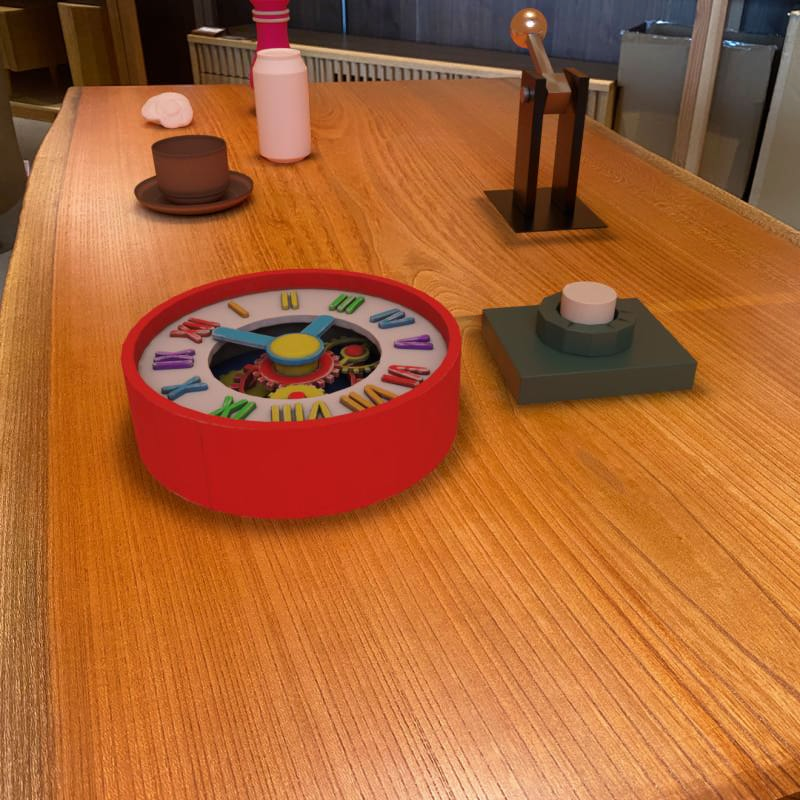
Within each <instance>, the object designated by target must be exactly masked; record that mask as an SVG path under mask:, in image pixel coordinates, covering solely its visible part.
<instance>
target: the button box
mask: <svg viewBox="0 0 800 800" xmlns="http://www.w3.org/2000/svg"><path fill="white" fill-rule="evenodd" d="M562 291H563V290H561V291H558V292H555V293H553V294H550V295H548V296H545V297H543V298H542V300H541V302H540V303H539V304H530V305H518V306H504V307H503V306H502V307H490V308H489V307H487V308H483V309H482V311H481V312H482V313H481V326H480V327H481V328H480V335H481V337H482V339H483V341H484V343H485V344H486V346H487V348H488V350H489V352H490V354H491V356H492V358H493V360H494V361H495V364H496V366H497V367H498V369H499V371H500V373H501V375H502V378H503V379H504V380H505V383H506V385H507V386H508V388H509V390H510V392H511V393H512V396H513V398H514V400H515V401H516V403H517V405H519V406H523V405H524V406H525V405H532V404H534V405H535V404H545V403H553V402H554V403H556V402H557V403H558V402H565V401H566V402H567V401H578V400H579V401H580V400H588V399H590V400H591V399H600V398H610V397H611V398H612V397H622V396H632V395H633V396H635V395H644V394H656V393H666V392H678V391H689V390H693V386H694V382H695V378H696V377H695V376H696V373H697V368H698V364H699V363H698V360H697V359H695V357H694V356H693V355H692V354H691V353H690V352H689V351H688V350H687V348H686V347H684V346H683V344H681V343H680V342H679V340H678V339H677V338H676V337H675V336H674V335H673V334H672V333H671V332H670V331H669V330H668V328H667V327H665V325H664V324H663V323H662V322H661V321H660V320H659V319H658V318H657V317H656V316H655V315H654V314H653V313H652V312H651V310H649V308H647V306H645V304H644V303H643V302H642V301H641V300H640V299H639V298H638V297H626V298H619V297H617V298H616V305H615V312H614V318H613V320H612V321H611V322H609V323H606V324H593V325H587V324H581V323H575V322H572V321H570V320H568V319H566V318H564V317H561V315H560V308H561V299H562Z"/></svg>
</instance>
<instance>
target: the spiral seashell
mask: <svg viewBox="0 0 800 800" xmlns="http://www.w3.org/2000/svg"><path fill="white" fill-rule="evenodd" d="M139 109H140V110H141V113H140V114H141V116H142V118H143V119H145V120H146V121H148V122H150V123H153V124H155V125H158V126H159V125H160V126H162V127H164V128H166V129H173V130H175V129H179V128H182V127H183V128H185V127H187V126H189V125H190V124H191V123H192V121H193V117H194V111H193V108H192V105H191V102H190V100H189V99H188V97H187V96H185V95H184V94H182V93H179V92H174V91H173V92H172V91H168V92H167V91H166V92H162V93H160V94H157V95H154V96H151V97H150V98H149V99H148V100H146V102H145V103H144V104H143V106H142V107H139Z"/></svg>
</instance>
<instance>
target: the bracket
mask: <svg viewBox="0 0 800 800" xmlns="http://www.w3.org/2000/svg"><path fill="white" fill-rule="evenodd" d="M562 73H564V74H565V77H566V79H567V82H568V84H569V86H570V89H571V91H572V93H571V96H570V100H569V103H568V107H567V110H566V114H558V119H557V130H556V140H555V149H554V159H553V170H552V179H551V186H546V187H545V186H544V187H538V180H539V170H540V159H541V157H540V156H541V155H540V154H541V145H542V137H543V136H542V135H543V125H544V115H543V114H544V103H545V92H546V80H547V79H546V78H545V77H543V76H542V75H540V74H539V73H537V71H536V70H535V69H533V68H523V69H521V79H520V91H519V105H518V119H517V130H516V131H517V133H516V143H515V144H516V146H515V159H514V173H513V187H512V188H511V189H510V188H509V189H491V190H489V189H488V190H483V193H484V196H486V197H487V199H488V200H489V201H490V202H491V204H492V205H493V207H494V208H495V209H496V210H497V212H499V214H500V216H501V217H502V218H503V220H505V223H507V224H508V226H509V227H510V228H511V229H512V231H513V232H514V234H525V233H542V232H560V231H576V230H577V231H578V230H591V229H594V230H595V229H605V228H606V229H607V228H608V229H609V225H608V224H606V223H605V222H604V221H603V220H602V219H601V218H600V217H599V216H598V215H597V214H596V213H595V212H594V211H593V210H592V209H590V207H589V206H587V204H585V202H583V201H582V200H581V199H580V198H579V197H578V196H577V193H578V192H577V191H578V184H579V175H580V165H581V158H582V149H583V141H584V140H583V139H584V132H585V123H586V116H587V115H586V114H587V107H588V105H587V104H588V99H589V98H588V96H589V89H590V82H591V81H590V80H591V77H590V76H589V75H587V74H585V73H584V72H582V71H581V70H578V69H577V68H575V67H563V70H562Z"/></svg>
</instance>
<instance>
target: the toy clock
mask: <svg viewBox="0 0 800 800" xmlns="http://www.w3.org/2000/svg"><path fill="white" fill-rule="evenodd" d="M462 342H463V339H462V333H461V329H460V325H459V323H458V322H457V320H456V319H455V317H454V315H453V314H452V313H451V311H450V310H449V309H447V307H445V305H443V304H442V303H441V302H440V301H439V300H437V299H436V298H434V297H433V296H431V295H429V294H428V293H426V292H424V291H423V290H421V289H418V288H416V287H414V286H411V285H410V284H407V283H404V282H401V281H397V280H396V279H395V280H394V279H392V278H389V277H385V276H381V275H375V274H372V273H366V272H362V271H361V272H359V271H353V270H345V269H335V268H333V269H332V268H287V269H286V268H284V269H271V270H262V271H256V272H249V273H243V274H239V275H234V276H229V277H226V278H222V279H218V280H215V281H211V282H208V283H204V284H202V285H198V286H195V287H193V288H191V289H188V290H186V291H183V292H181V293H178V294H177V295H174V296H172V297H170V298H168V299H167V300H165V301H164V302H162V303H160V304H158V305H156V306H155V307H154V308H152V309H151V310H149V311H148V312H147V313H146V314H144V315H143V316H142V317H141V318H140V319H139V320H138V321H137V322H136V323H135V324H134V325H133V326H132V328H131V329H130V330H129V331H128V334H127V335H126V337H125V340H124V341H123V343H122V346H121V353H120V364H121V369H122V374H123V379H124V384H125V389H126V394H127V399H128V404H129V410H130V414H131V419H132V426H133V430H134V434H135V441H136V444H137V449H138V453H139V457H140V460H141V461H142V464H143V465H144V466H145V468H146V470H147V471H148V472H149V474H150V475H151V476H152V477H153V478H154V479H155V480H156V481H157V482H158V483H160V485H162V487H164V488H165V489H166V490H168V491H170V492H172V493H173V494H175V495H177V496H178V497H180V498H182V499H183V500H185V501H187V502H190V503H192V504H195V505H196V506H200V507H203V508H206V509H207V510H210V511H215V512H220V513H224V514H229V515H234V516H238V517H243V518H244V517H245V518H255V519H267V520H291V519H293V520H294V519H311V518H317V517H325V516H331V515H339V514H343V513H347V512H350V511H354V510H358V509H361V508H366V507H370V506H372V505H374V504H378V503H379V502H382V501H384V500H386V499H389V498H392V497H394V496H397V495H398V494H400V493H402V492H404V491H406V490H407V489H408V488H410V487H412V486H414V485H416V484H417V483H419V482H421V481H422V480H423V479H424V478H425V477H427V475H429V474H431V473H432V472H433V471H435V469H436V468H438V467H439V465H440V463H441V462H442V461H444V459H445V457H446V456H447V455H448V454H449V452H450V451H451V448H452V446H453V444H454V442H455V440H456V437H457V435H458V428H459V427H458V425H459V415H460V393H461V392H460V391H461V370H462V369H461V368H462V365H461V364H462V344H463V343H462Z"/></svg>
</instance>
